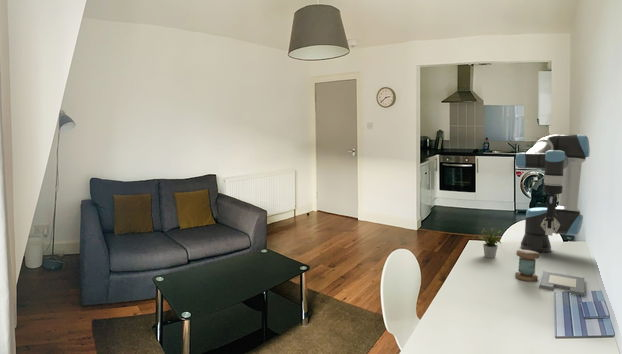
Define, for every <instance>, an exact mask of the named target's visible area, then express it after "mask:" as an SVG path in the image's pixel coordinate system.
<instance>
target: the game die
mask: <svg viewBox="0 0 622 354" xmlns="http://www.w3.org/2000/svg"><path fill="white" fill-rule="evenodd" d="M546 218H547V217H545V216H544V219H543V221H542V223H541V225H538V226H541V227H542V228H543V229H544V231H545V232H546V221H545V219H546ZM560 225H563V224H560V223H559V222H558V221H557V220H556V216H555V217H554V218H553V233H552V234H556V235H558V234H557V231H558V229H559V227H560Z"/></svg>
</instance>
